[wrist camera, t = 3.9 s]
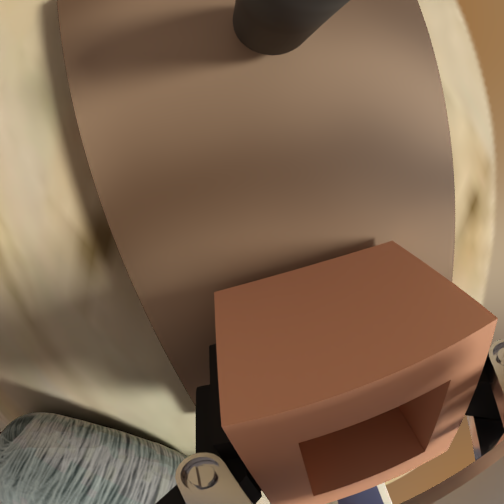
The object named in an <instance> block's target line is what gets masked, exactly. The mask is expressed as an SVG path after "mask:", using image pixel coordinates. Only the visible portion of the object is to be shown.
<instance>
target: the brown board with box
mask: <svg viewBox="0 0 504 504" xmlns="http://www.w3.org/2000/svg"><path fill="white" fill-rule="evenodd" d="M57 7H58V17H59V26H60V34H61V42H62V49H63V55H64V61H65V67H66V73H67V78H68V83H69V88H70V93H71V98H72V102H73V107H74V111H75V116H76V120H77V124H78V128H79V132H80V135H81V139H82V143H83V147H84V150H85V154H86V157H87V161H88V164H89V167H90V171H91V174H92V177H93V180H94V184H95V187H96V190H97V193H98V196H99V199H100V202H101V205H102V208H103V210H104V213H105V216H106V219H107V222H108V224H109V227H110V230H111V232H112V235H113V238H114V240H115V243H116V245H117V248H118V250H119V253H120V255H121V258H122V260H123V263H124V265H125V268H126V270H127V272H128V275H129V277H130V279H131V282H132V284H133V286H134V289H135V291H136V293H137V295H138V297H139V300H140V302H141V304H142V306H143V308H144V310H145V313H146V315H147V317H148V319H149V321H150V323H151V325H152V327H153V329H154V331H155V333H156V335H157V337H158V339H159V341H160V343H161V345H162V347H163V349H164V351H165V353H166V355H167V357H168V358H169V360H170V362H171V364H172V366H173V368H174V370H175V371H176V373H177V375H178V377H179V379H180V380H181V382H182V384H183V386H184V387H185V389H186V391H187V393H188V394H189V396H190V398H191V399H192V401H193V403H194V404H195V406H196V388H197V387H199V386H204V385H209V384H210V368H209V346H210V345H213V344H216V328H215V304H214V292H216V291H220V290H224V289H227V288H231V287H235V286H238V285H242V284H246V283H249V282H253V281H257V280H260V279H264V278H267V277H271V276H275V275H278V274H282V273H285V272H289V271H292V270H296V269H299V268H303V267H306V266H309V265H313V264H316V263H320V262H323V261H327V260H330V259H333V258H337V257H340V256H343V255H347V254H350V253H353V252H357V251H360V250H363V249H367V248H370V247H373V246H376V245H380V244H383V243H386V242H389V241H394V242H395V243H397V244H398V245H400V246H401V247H403V248H404V249H405V250H407V251H408V252H410V253H411V254H413V255H414V256H416V257H417V258H419V259H420V260H421V261H423V262H424V263H426V264H427V265H429V266H430V267H431V268H433V269H434V270H436V271H437V272H438V273H440V274H441V275H442V276H444V277H445V278H447V279H448V280H449V281H451V282H452V276H453V263H454V245H455V189H454V171H453V158H452V148H451V139H450V131H449V124H448V117H447V111H446V105H445V99H444V94H443V89H442V84H441V79H440V75H439V70H438V66H437V62H436V58H435V54H434V50H433V47H432V43H431V40H430V36H429V33H428V30H427V27H426V24H425V21H424V18H423V15H422V12H421V9H420V6H419V3H418V1H417V0H57Z"/></svg>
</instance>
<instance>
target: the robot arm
mask: <svg viewBox="0 0 504 504" xmlns="http://www.w3.org/2000/svg"><path fill="white" fill-rule="evenodd" d="M209 368H210V384H209V385H204V386H199V387H197V388H196V454H193V455H190V456H189V457H187V458H185V459H184V460H183V461H182V462H181V463H180V464H179V466H178V468H177V470H176V474H175V479H176V483H177V485H176V486H175V487H173V488H172V489H171V490H170V491H169V492H168V493H167V494H166V495H165V496H163V497H162V498H161V499H160V500H159V501H158V502H157V503H156V504H256V502H257V501H258V500H259V499H260V498H261V497H262V495H261V488H260V487H259V485H258V484H257V482H256V481H255V479H254V478H253V476H252V475H251V473H250V472H249V470H248V469H247V467H246V466H245V464H244V463H243V461H242V459H241V458H240V456H239V455H238V453H237V451H236V450H235V448H234V447H233V445H232V443H231V442H230V440H229V438H228V437H227V435H226V433H225V432H224V430H223V428H222V427H221V413H220V399H219V384H218V368H217V349H216V344H213V345H210V346H209ZM465 415H467V419H468V423H469V428H470V433H471V438H472V443H473V449H474V454H475V460H476V461H475V462H473V463H472V464H470V465H469V466H467V467H466V468H464V469H463V470H461V471H460V472H458V473H456V474H455V475H453V476H451V477H450V478H448V479H446V480H445V481H443V482H441V483H440V484H438V485H436V486H434V487H432V488H431V489H429V490H427V491H425V492H423V493H422V494H419V495H417V496H415V497H413V498H411V499H410V500H407V501H405V502H403V503H401V504H504V339H500V340H497V341H495V342H494V343H493V344H492V345H490V349H489V352H488V355H487V358H486V361H485V364H484V367H483V370H482V373H481V376H480V378H479V381H478V384H477V386H476V389H475V392H474V394H473V397H472V399H471V401H470V404H469V406H468V409H467V411H466V413H465ZM0 504H2V503H1V501H0Z"/></svg>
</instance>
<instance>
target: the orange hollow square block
mask: <svg viewBox="0 0 504 504" xmlns="http://www.w3.org/2000/svg"><path fill="white" fill-rule="evenodd" d="M214 304H215V328H216V349H217V368H218V384H219V399H220V413H221V427H222V428H223V430H224V432H225V433H226V435H227V437H228V438H229V440H230V442H231V443H232V445H233V447H234V448H235V450H236V451H237V453H238V455H239V456H240V458H241V459H242V461H243V463H244V464H245V466H246V467H247V469H248V470H249V472H250V473H251V475H252V476H253V478H254V479H255V481H256V482H257V484H258V485H259V487H260V488H261V490H262V491H263V493H264V494H265V496H266V497H267V498H268V500H269V501H270V503H271V504H327V503H330V502H333V501H336V500H339V499H342V498H345V497H348V496H351V495H354V494H357V493H359V492H362V491H365V490H367V489H370V488H372V487H375V486H377V485H379V484H382V483H384V482H387V481H389V480H391V479H393V478H396V477H398V476H400V475H402V474H404V473H406V472H408V471H410V470H412V469H414V468H416V467H418V466H420V465H422V464H424V463H426V462H428V461H430V460H431V459H433V458H435V457H437V456H439V455H440V454H442V453H443V452H445V451H447V450H448V448H449V446H450V444H451V442H452V440H453V438H454V436H455V434H456V432H457V430H458V428H459V426H460V424H461V422H462V420H463V417H464V415H465V413H466V411H467V409H468V406H469V404H470V401H471V399H472V397H473V394H474V392H475V389H476V386H477V384H478V381H479V378H480V376H481V373H482V370H483V367H484V364H485V361H486V358H487V355H488V352H489V349H490V345H491V342H492V338H493V335H494V330H495V327H496V323H497V320H498V318H497V317H496V316H494V315H493V314H492V313H491V312H490V311H488V310H487V309H486V308H485V307H483V306H482V305H481V304H479V303H478V302H477V301H476V300H474V299H473V298H472V297H470V296H469V295H468V294H467V293H465V292H464V291H463V290H461V289H460V288H459V287H457V286H456V285H455V284H453V283H452V282H451V281H449V280H448V279H447V278H445V277H444V276H442V275H441V274H440V273H438V272H437V271H436V270H434V269H433V268H431V267H430V266H429V265H427V264H426V263H424V262H423V261H421V260H420V259H419V258H417V257H416V256H414V255H413V254H411V253H410V252H408V251H407V250H405V249H404V248H403V247H401V246H400V245H398V244H397V243H395V242H394V241H389V242H386V243H383V244H380V245H376V246H373V247H370V248H367V249H363V250H360V251H357V252H353V253H350V254H347V255H343V256H340V257H337V258H333V259H330V260H327V261H323V262H320V263H316V264H313V265H309V266H306V267H303V268H299V269H296V270H292V271H289V272H285V273H282V274H278V275H275V276H271V277H267V278H264V279H260V280H257V281H253V282H249V283H246V284H242V285H238V286H235V287H231V288H227V289H224V290H220V291H216V292H214Z"/></svg>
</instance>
